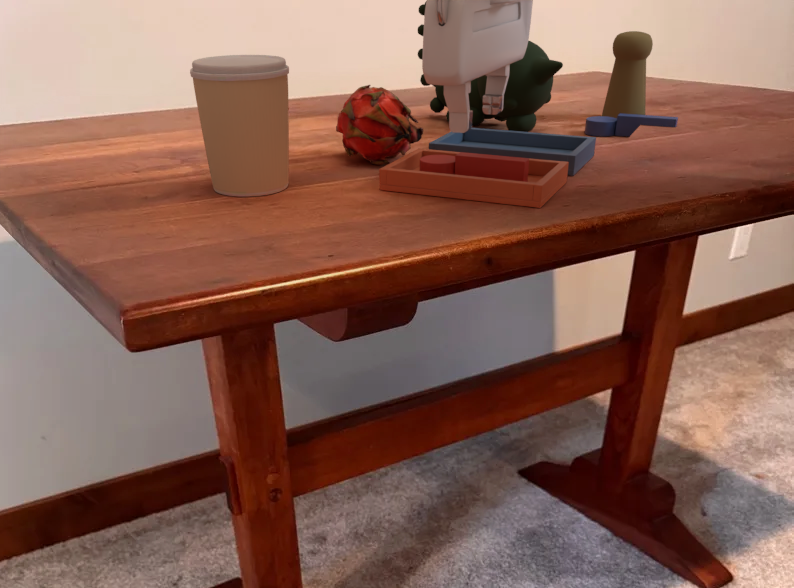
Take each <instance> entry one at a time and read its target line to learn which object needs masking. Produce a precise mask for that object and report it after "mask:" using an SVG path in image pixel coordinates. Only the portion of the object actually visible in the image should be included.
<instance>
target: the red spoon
mask: <svg viewBox="0 0 794 588" xmlns="http://www.w3.org/2000/svg"><path fill="white" fill-rule="evenodd" d="M528 170H529V158H520V157H509V156H498V155H487V154H476V153H465V152H460V153H459V154H457V155H455V156H451V155H428V156H424V157H421V158H420V171H424V172H434V173H444V174H454V175H464V176H474V177H484V178H494V179H503V180H513V181H523V182H528Z"/></svg>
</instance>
